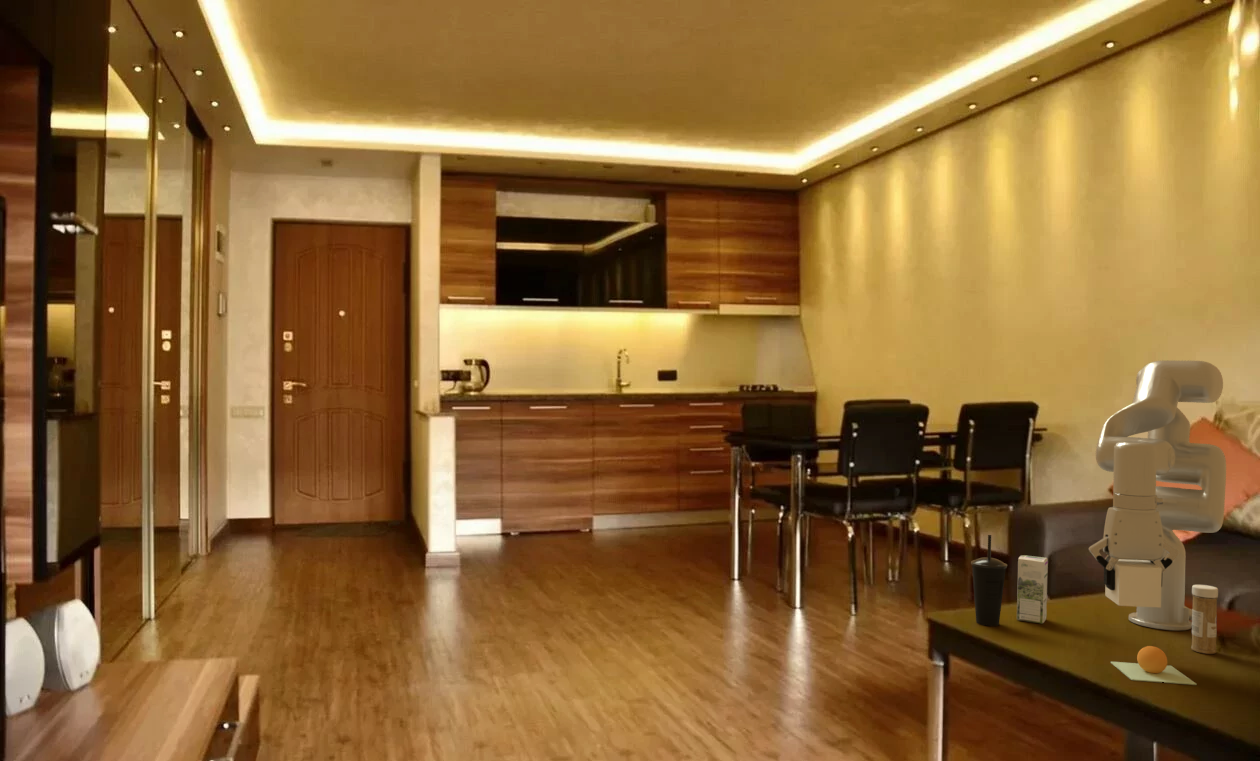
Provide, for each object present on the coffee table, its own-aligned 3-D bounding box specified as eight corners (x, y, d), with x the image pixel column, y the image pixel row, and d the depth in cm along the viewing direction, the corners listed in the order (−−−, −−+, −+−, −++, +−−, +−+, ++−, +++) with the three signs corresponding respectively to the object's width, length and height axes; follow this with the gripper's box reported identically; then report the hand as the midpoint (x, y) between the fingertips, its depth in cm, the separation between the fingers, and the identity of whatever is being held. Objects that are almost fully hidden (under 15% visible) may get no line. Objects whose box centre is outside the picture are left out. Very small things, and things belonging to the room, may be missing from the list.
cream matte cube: (1145, 597, 187) (1146, 559, 187) (1160, 607, 179) (1161, 568, 179) (1105, 595, 188) (1105, 558, 188) (1118, 605, 181) (1119, 566, 180)
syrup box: (1046, 619, 212) (1048, 557, 212) (1042, 624, 207) (1044, 560, 207) (1020, 615, 215) (1022, 553, 215) (1016, 620, 210) (1017, 557, 210)
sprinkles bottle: (1219, 655, 186) (1221, 589, 186) (1194, 653, 187) (1195, 587, 187) (1212, 649, 190) (1214, 585, 190) (1187, 647, 191) (1189, 583, 191)
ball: (1174, 663, 169) (1167, 679, 172) (1165, 641, 173) (1158, 657, 176) (1145, 661, 170) (1139, 678, 173) (1137, 639, 174) (1130, 656, 177)
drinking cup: (999, 619, 210) (1001, 533, 210) (1010, 628, 203) (1012, 538, 203) (965, 618, 211) (967, 531, 211) (974, 626, 203) (977, 537, 203)
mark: (1171, 666, 177) (1171, 665, 177) (1196, 685, 166) (1196, 683, 166) (1110, 662, 179) (1110, 661, 179) (1131, 680, 168) (1131, 679, 168)
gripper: (1173, 501, 186) (1171, 587, 186) (1081, 498, 188) (1080, 583, 189) (1189, 507, 178) (1187, 596, 179) (1094, 504, 181) (1092, 592, 181)
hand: (1132, 589), depth 184 cm, fingers closed on cream matte cube, 7 cm apart
